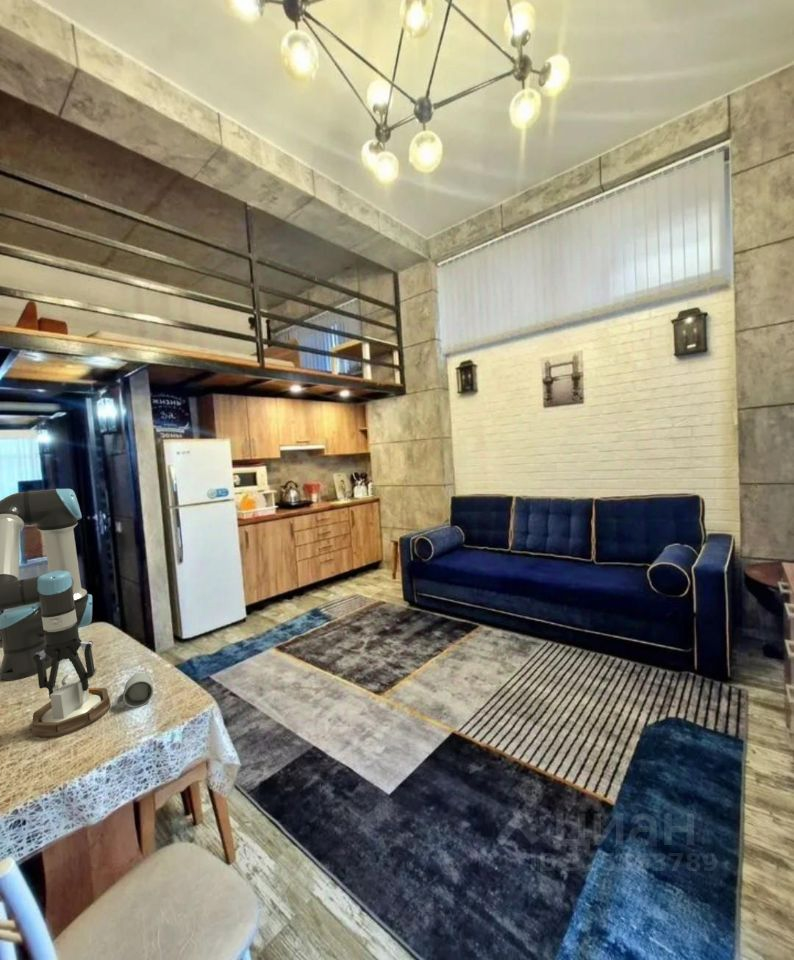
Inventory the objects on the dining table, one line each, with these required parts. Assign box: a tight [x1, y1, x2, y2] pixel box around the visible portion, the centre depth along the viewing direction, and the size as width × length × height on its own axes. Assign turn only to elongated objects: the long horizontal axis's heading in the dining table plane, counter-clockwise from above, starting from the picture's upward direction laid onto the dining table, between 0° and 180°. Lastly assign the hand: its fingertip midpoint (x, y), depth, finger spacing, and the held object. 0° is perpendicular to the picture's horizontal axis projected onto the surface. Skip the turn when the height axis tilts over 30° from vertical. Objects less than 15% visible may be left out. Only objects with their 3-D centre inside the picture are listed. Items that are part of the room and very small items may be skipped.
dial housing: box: [31, 687, 112, 739], centre depth 122 cm, size 18×18×4 cm
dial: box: [42, 676, 101, 722], centre depth 122 cm, size 14×14×8 cm
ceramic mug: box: [111, 672, 154, 710], centre depth 128 cm, size 11×8×8 cm
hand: (71, 704), depth 122 cm, fingers closed on dial, 5 cm apart
